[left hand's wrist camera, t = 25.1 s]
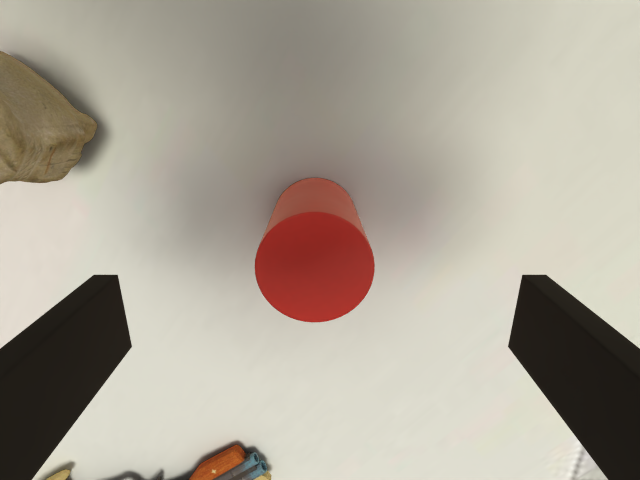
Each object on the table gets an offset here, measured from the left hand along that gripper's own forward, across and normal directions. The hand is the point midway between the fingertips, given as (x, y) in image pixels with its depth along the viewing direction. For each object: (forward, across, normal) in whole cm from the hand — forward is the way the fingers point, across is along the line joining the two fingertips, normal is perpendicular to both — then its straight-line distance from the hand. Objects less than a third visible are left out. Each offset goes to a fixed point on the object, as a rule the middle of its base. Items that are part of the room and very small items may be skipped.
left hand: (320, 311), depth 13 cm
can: (+13, 0, -1) cm, 14 cm away
